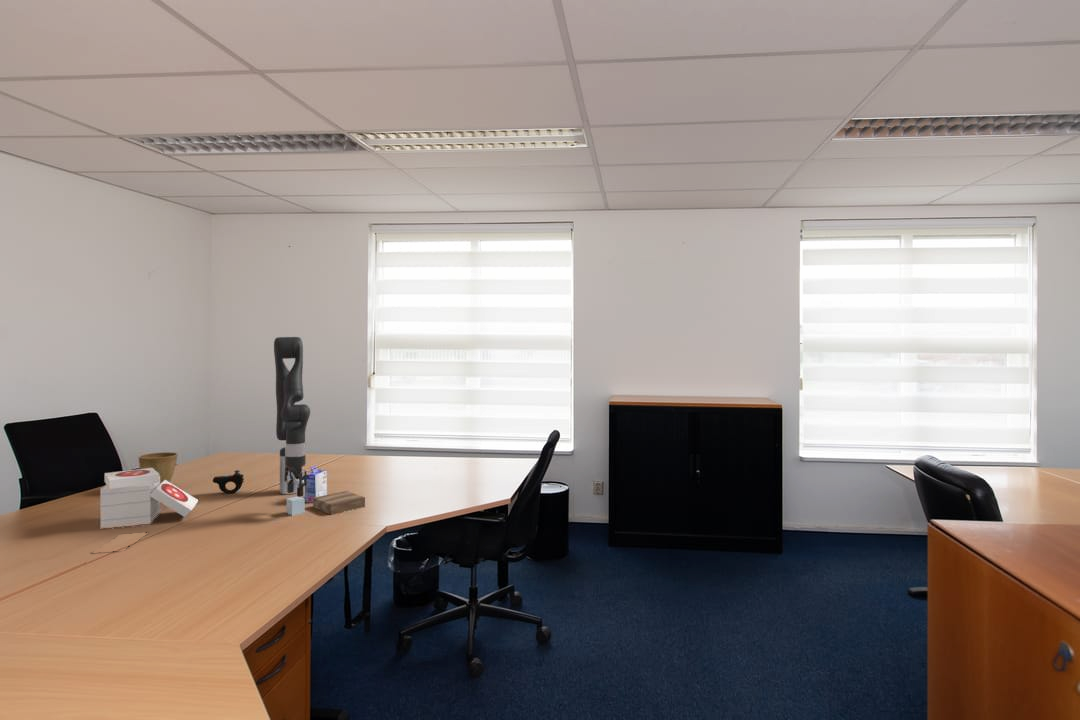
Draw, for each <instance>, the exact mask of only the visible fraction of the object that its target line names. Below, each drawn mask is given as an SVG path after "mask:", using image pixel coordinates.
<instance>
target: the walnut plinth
mask: <svg viewBox="0 0 1080 720" xmlns="http://www.w3.org/2000/svg"><path fill="white" fill-rule="evenodd" d="M361 507H362V508H365V507H366V496H362V495H360V494H357V493H353V492H351V491H348V490H344V491H340V492H335V493H330V494H327V495H324V496H319V497H314V498H313V502H312V508H314V509H317V510H318V509H319V511H321V512H323V513H326V514H329V515H330V514H331V516H332V514H333V515H336V513H337V514H341V513H344V511H345V512H349V511H352V509H354V510H356V508H358V509H361ZM348 510H349V511H348ZM340 512H341V513H340Z"/></svg>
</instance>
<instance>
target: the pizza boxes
mask: <svg viewBox="0 0 1080 720" xmlns="http://www.w3.org/2000/svg"><path fill="white" fill-rule="evenodd" d="M104 483H105V485H104V486H103V487H101V488H100V528H101V527H112V526H122V525H135V524H147V523H151V522H152V521H153V520H154V519H155V517H156V516H157V515H158V514H159V513H160V514H161V504H162V505H164V506H165V507H167V508H169V509H171V510H172V511H173V512H175V513H177V514H179V515H180V516H182V517H184V518H186V517H187V516H188V515H189V514H190V513H191V512H192V510H193V509H194V508H195V507H196V505H197V503H198V502H199V499H197V498H195V497H194V496H192V495H191V494H189V493H187V492H186V491H184V490H183V489H181V488H179V487H178V486H176V485H174V484H173V483H172V482H171V481H170V482H168V481H167V480H164V481H163V482H162V483H161V484H160V476H159V473H158V472H157V471H155V470H154V469H153V468H146V469H140V468H138V469H130V470H122V471H112V472H104ZM160 514H159V515H160ZM159 515H158V516H159ZM158 516H157V517H158ZM157 517H156V518H157ZM155 520H156V519H155ZM155 520H154V521H155ZM154 521H153V522H154ZM153 522H152V523H153ZM152 523H151V524H152Z"/></svg>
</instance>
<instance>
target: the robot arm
mask: <svg viewBox="0 0 1080 720" xmlns="http://www.w3.org/2000/svg"><path fill="white" fill-rule="evenodd" d="M273 355H274V365H275V366H274V367H275V399H276V400H275V401H276V423H275V425H276V427H275V428H276V429H275V432H276V438H277V440H278V441H285V446H284V447H282V448H280V450H279V494H281V495H292V494H293V495H294V494H296V497H297V496H298V497H303V496H304V488H305V486H306V485H307V478H306V474H307V470H306V469H305V470H303V467H305V465H306V463H307V462H306V459H307V455H306V454H307V453H306V450H307V449H306V448H307V447H306V429H307V425H308V421H309V419H310V416H311V408H310V407H309V405H307V404H305V403H304V404H303V403H302V404H296V403H299V402H301V401H302V400H303V399H304V388H303V368H304V367H303V365H304V362H303V361H304V347H303V341H302V339H301V337H300V336H299V337H298V336H281V337H280V336H279V337H276V338H274V341H273ZM286 359H294V363H293V364H292V365H293V366H292V367H291V369H290V370H289V369H288V367H287V366H286V364H285V361H284V360H286Z"/></svg>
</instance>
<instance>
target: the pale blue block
mask: <svg viewBox="0 0 1080 720" xmlns="http://www.w3.org/2000/svg"><path fill="white" fill-rule="evenodd" d="M305 503H306V502H305V497H303V496H301V497H298V496H297V495H296V496H293V497H287V498H286V506H285V507H286V514H287V513H288V514H287V515H289V514H290V515H289V516H291V515H292V517H294V516H297V514H298V515H301V514H302V513H303V514H305V509H306V508H305V505H306V504H305ZM303 514H302V515H303ZM293 515H294V516H293Z"/></svg>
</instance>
